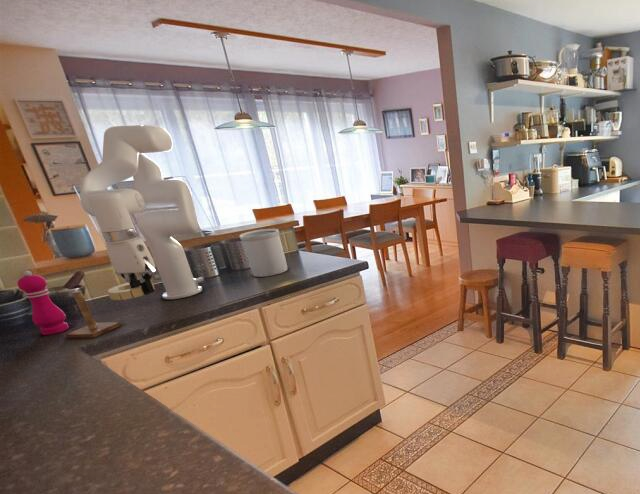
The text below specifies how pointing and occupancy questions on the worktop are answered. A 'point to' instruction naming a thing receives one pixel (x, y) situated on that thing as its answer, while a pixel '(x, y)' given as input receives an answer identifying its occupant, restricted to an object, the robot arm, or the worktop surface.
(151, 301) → the worktop surface
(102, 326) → the wooden peg stand
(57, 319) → the pepper mill
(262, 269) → the utensil holder
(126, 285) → the tape
